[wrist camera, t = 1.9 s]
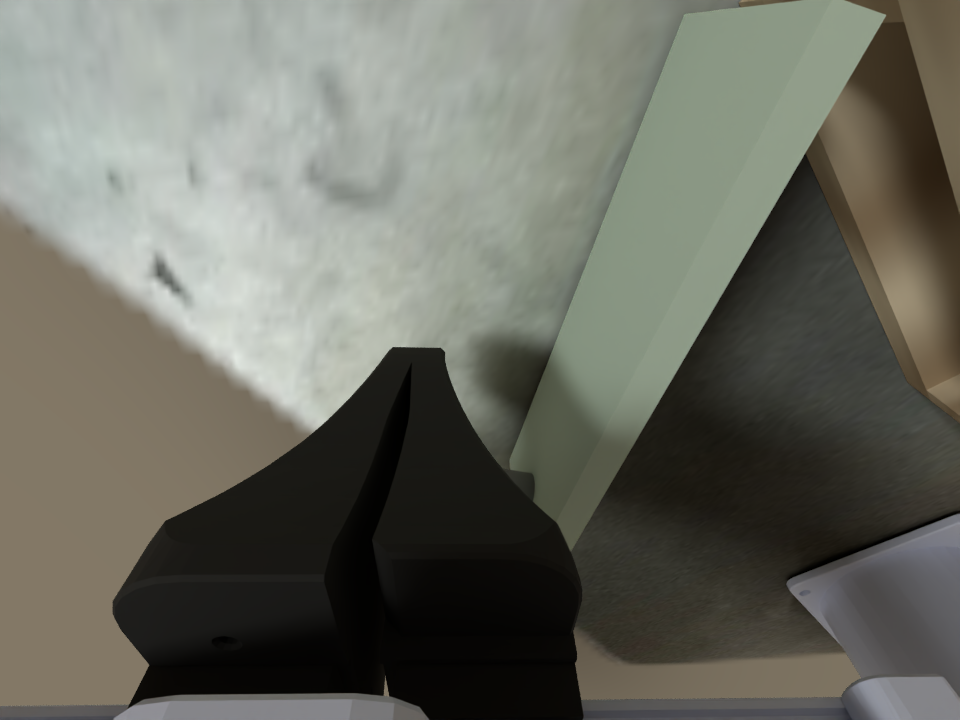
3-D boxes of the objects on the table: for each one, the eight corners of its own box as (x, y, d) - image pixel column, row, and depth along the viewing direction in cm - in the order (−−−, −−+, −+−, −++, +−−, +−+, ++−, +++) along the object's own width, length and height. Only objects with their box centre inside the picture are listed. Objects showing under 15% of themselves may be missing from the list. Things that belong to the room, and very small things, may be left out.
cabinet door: (529, 463, 18) (547, 590, 14) (478, 455, 18) (481, 582, 13) (717, 24, 10) (886, 15, 6) (632, -3, 10) (750, -33, 6)
